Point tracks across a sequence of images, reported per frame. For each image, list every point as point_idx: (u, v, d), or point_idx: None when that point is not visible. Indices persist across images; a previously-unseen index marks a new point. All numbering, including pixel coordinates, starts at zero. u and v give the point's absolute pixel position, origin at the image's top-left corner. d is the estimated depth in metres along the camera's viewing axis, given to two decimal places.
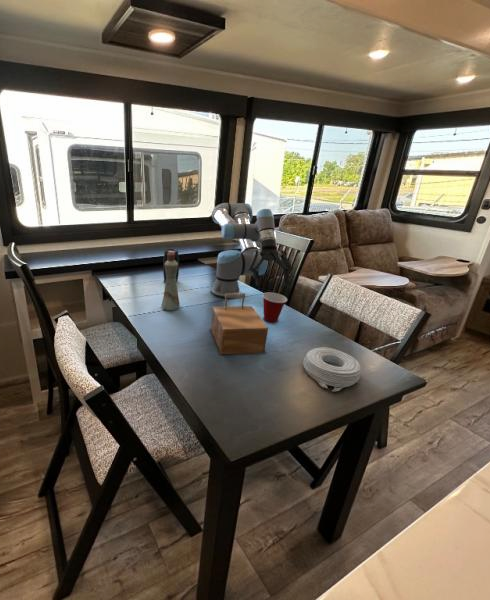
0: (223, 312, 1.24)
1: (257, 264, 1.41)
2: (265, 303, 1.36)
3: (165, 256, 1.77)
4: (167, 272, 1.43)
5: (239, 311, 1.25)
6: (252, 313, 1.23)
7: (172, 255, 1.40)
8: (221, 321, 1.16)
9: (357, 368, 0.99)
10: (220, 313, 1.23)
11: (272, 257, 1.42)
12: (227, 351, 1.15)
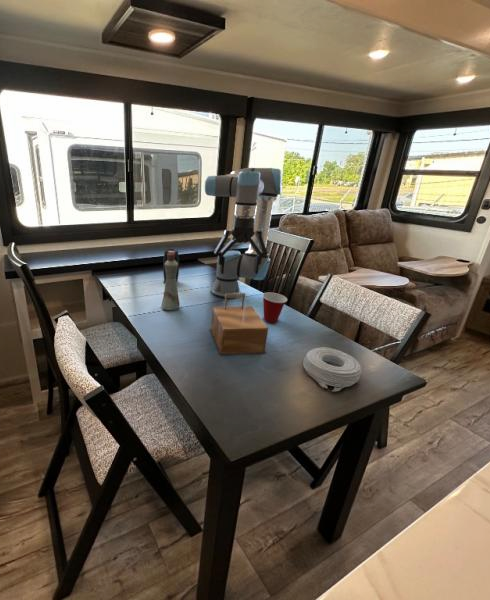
0: (223, 312, 1.24)
1: (225, 249, 1.16)
2: (265, 303, 1.36)
3: (165, 256, 1.77)
4: (167, 272, 1.43)
5: (239, 311, 1.25)
6: (252, 313, 1.23)
7: (172, 255, 1.40)
8: (221, 321, 1.16)
9: (357, 368, 0.99)
10: (220, 313, 1.23)
11: (245, 240, 1.15)
12: (227, 351, 1.15)
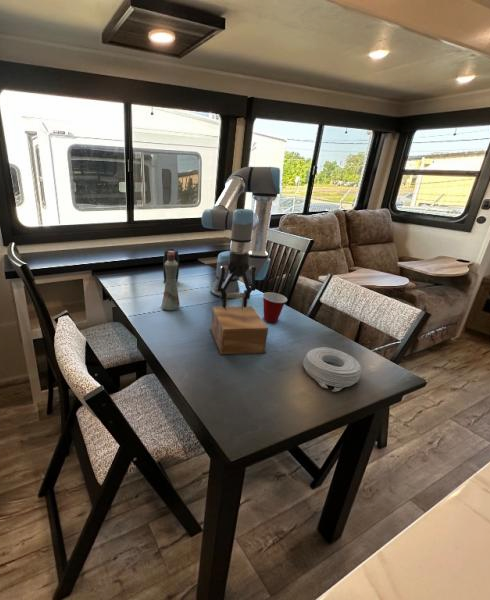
0: (223, 312, 1.24)
1: (225, 285, 1.21)
2: (265, 303, 1.36)
3: (165, 256, 1.77)
4: (167, 272, 1.43)
5: (239, 311, 1.25)
6: (252, 313, 1.23)
7: (172, 255, 1.40)
8: (221, 321, 1.16)
9: (357, 368, 0.99)
10: (220, 313, 1.23)
11: (240, 273, 1.20)
12: (227, 351, 1.15)
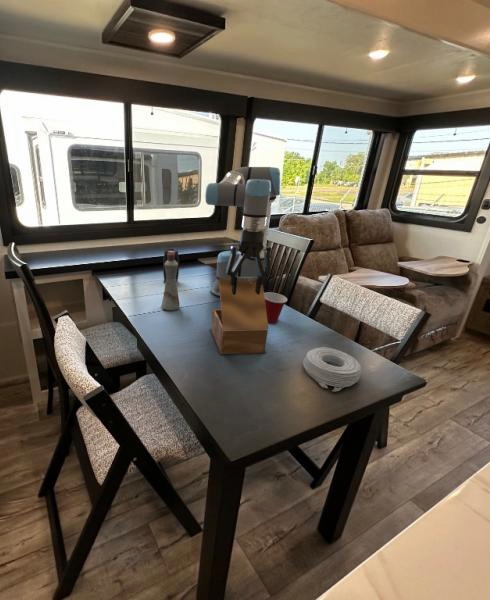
0: (228, 292, 1.15)
1: (236, 268, 1.06)
2: (265, 303, 1.36)
3: (165, 256, 1.77)
4: (167, 272, 1.43)
5: (246, 291, 1.15)
6: (259, 296, 1.15)
7: (172, 255, 1.40)
8: (223, 313, 1.12)
9: (357, 368, 0.99)
10: (225, 295, 1.14)
11: (253, 255, 1.05)
12: (227, 351, 1.15)
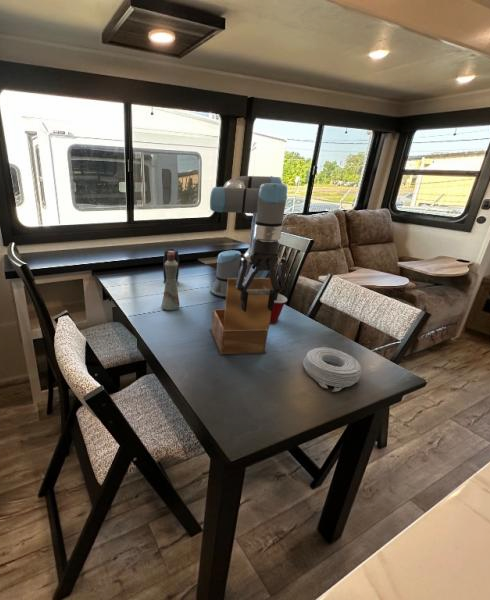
0: (236, 293, 1.05)
1: (247, 282, 0.95)
2: None
3: (165, 256, 1.77)
4: (167, 272, 1.43)
5: None
6: (267, 298, 1.07)
7: (172, 255, 1.40)
8: (226, 315, 1.08)
9: (357, 368, 0.99)
10: (231, 297, 1.06)
11: (267, 267, 0.93)
12: (227, 351, 1.15)
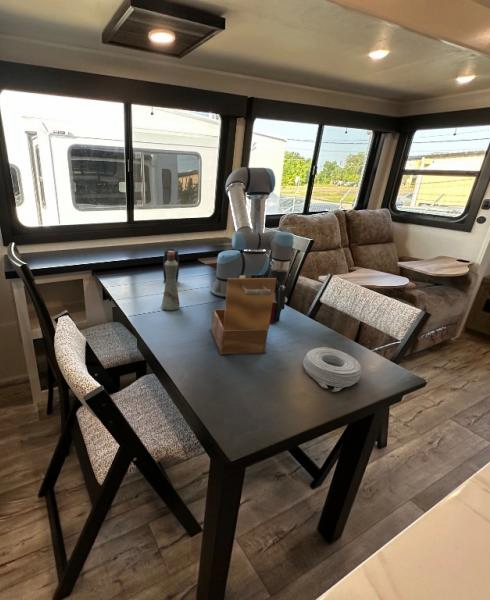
0: (236, 293, 1.05)
1: None
2: None
3: (165, 256, 1.77)
4: (167, 272, 1.43)
5: None
6: (268, 298, 1.07)
7: (172, 255, 1.40)
8: (226, 315, 1.08)
9: (357, 368, 0.99)
10: (231, 297, 1.06)
11: None
12: (227, 351, 1.15)
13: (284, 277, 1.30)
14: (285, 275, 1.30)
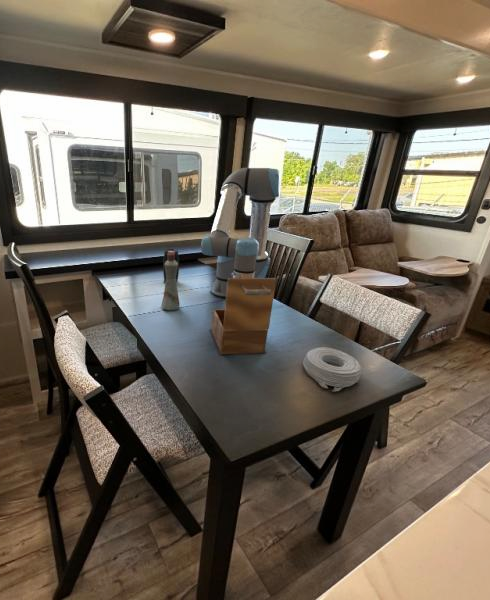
0: (236, 293, 1.05)
1: None
2: None
3: (165, 256, 1.77)
4: (167, 272, 1.43)
5: None
6: (268, 298, 1.07)
7: (172, 255, 1.40)
8: (226, 315, 1.08)
9: (357, 368, 0.99)
10: (231, 297, 1.06)
11: None
12: (227, 351, 1.15)
13: None
14: None
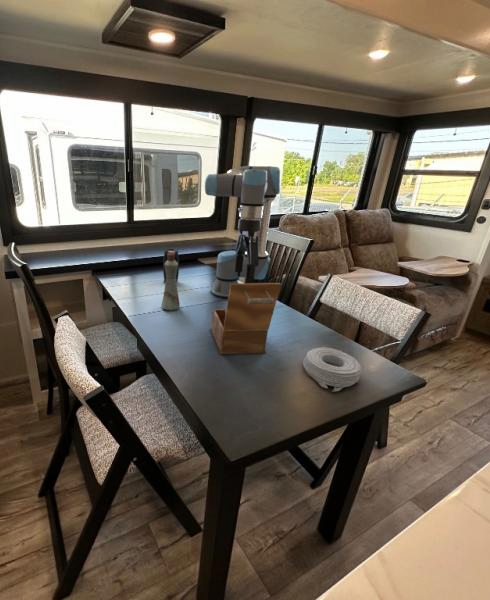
0: (238, 298, 1.03)
1: (237, 248, 1.16)
2: None
3: (165, 256, 1.77)
4: (167, 272, 1.43)
5: (258, 297, 1.03)
6: None
7: (172, 255, 1.40)
8: (227, 317, 1.07)
9: (357, 368, 0.99)
10: (233, 301, 1.03)
11: None
12: (227, 351, 1.15)
13: (256, 227, 1.03)
14: (257, 225, 1.03)
